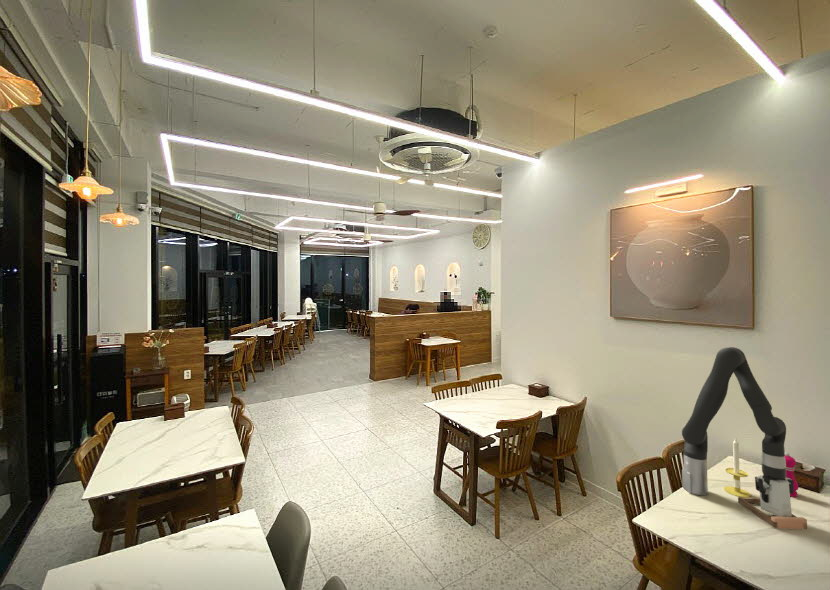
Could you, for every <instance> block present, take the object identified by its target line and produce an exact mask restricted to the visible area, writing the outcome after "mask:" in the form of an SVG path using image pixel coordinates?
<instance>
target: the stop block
mask: <svg viewBox="0 0 830 590" xmlns="http://www.w3.org/2000/svg"><path fill="white" fill-rule="evenodd" d="M770 517H771V520H772V521H773V522H774V523H776V522H777V525H778V528H776V527H775V526H776V525H775V526H774V527H775V528H774V527H773V528H774V529H789V530H790V529H791V530H807V529H808V519H807V518H805V517H803V516H802V517H799V516H798V517H797V516H796V517H778V516H776V515H774V516H773V515H772V516H770ZM805 523H807V524H806V525H805ZM806 526H807V527H806ZM804 528H805V529H804Z"/></svg>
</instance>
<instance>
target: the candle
mask: <svg viewBox="0 0 830 590" xmlns="http://www.w3.org/2000/svg"><path fill="white" fill-rule="evenodd" d="M739 444H740V443H739V442H738V440H737V437H735V438H734V440H733V442H732V450H733V451H732V454H733V455H732V456H733V457H732V458H733V461H732V462H733V468H732V467H727V468H725V472H726V473H727V474H729V475H732V476H733V477H732V478H733V486H730V485H727V486H724V488H723V490H724V492H726V493H727V494H730V495H732V496H734V495H735V496H734V497H737V498H738V497H751V496H752V495H751V493H750V492H749V491H747V490H745V489H743V488H741V478H746V477H749V473H747V472H746V471H744V470H742V469H740V445H739ZM751 498H752V497H751Z"/></svg>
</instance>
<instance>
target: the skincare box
mask: <svg viewBox="0 0 830 590" xmlns="http://www.w3.org/2000/svg"><path fill="white" fill-rule="evenodd" d="M757 477H758V478H762V477H763V474H761V475H758V476H757ZM763 482H764V481H763ZM771 484H772V490H771V491H769V493H768V499H769V503H766V502H764V501H763V500H762V498H761V492H759V498H760V503H761V505H760V509H761V511H762V510H763V511H765V512H767V513H770V514H771V515H772V516H773V515H774V516H777V517H791V516H792V514H793V512H792V501H791V497H790V491H789V482H788V481H785V480H770V485H771ZM763 485H765V486H767V487H769V486H770V485H768V484H767V483H766V482H764V483H763ZM765 490H766V488H765Z"/></svg>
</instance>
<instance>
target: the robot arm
mask: <svg viewBox="0 0 830 590" xmlns="http://www.w3.org/2000/svg"><path fill="white" fill-rule="evenodd" d="M732 375H734V376H735V377H736V380H737V381H738V384H739V386H740V390H741V393H742V394H743V397H744V399H745V401H746V403H747V404H748V406H749V408H750V409H751V411H752V413H753V417H754V420H755V422H756V424H757V426H758V428H759V429H760V431H761V432H762V433H763V434H764V438H763V439H762V441H761V472H762V475H763V477H762V478H758V476H754V482H755V490H756V491H758V492H759V493H760V492H761V498H762V500H763V501H764V502H766V503H769V499H768V493H769V491H771V490H772V484H771V485H770V480H785V481H788V482H789V491H790V493H791V494H793V489H794V481H793V480H792V479H790V478H788V477H786V460H785V452H786V451H785V441H786V435H787V426H786V425H787V424H786V423H785V422H784V421H783V419H781V418H779V417H777V416H774V415H773V412H772V410H773V407H772V405H771V402H770V401H769V400H768V398H767V396H766V395H765V393H764V392H763V390H762V388H761V386H760V385H759V384H758V383H759V382H758V381H757V380H756V377H755V376H754V375H753V372H752V370H751V367H750V364H749V363H748V360H747V357H746V355H745V353H744V351H743V350H742V349H740V348H738V347H733V346H730V347H724V348H721V349H720V350H719V351H717V353H716V355H715V358H714V363H713V366H712V368H711V370H710V373H709V375H708V376H707V379H706V380H705V382H704V384H703V386H702V388H701V390H700V392H699V393H698V396H697V399H696V401H695V404H694V408H693V410H692V413H691V415H690V417H689V419H688V420H687V422H686V424H685V426H684V427H683V428H682V429H681V436H682V439H683V440H684V445H683V446H684V447H683V468H682V469H681V479H682V480H681V481H682V482H681V483H682V488H683V489H684V490H685V491H686V492H688V493H689V494H693V495H697V496H707V495H708V494H709V487H708V486H709V485H708V480H709V479H708V451H709V450H708V449H709V448H708V441H709V440H708V438H709V437H708V432H707V430H708V429H709V425H710V423H711V422H712V420H713V419H714V418H715V416H716V415H717V413H718V412H719V411H720V409H721V407H722V405H723V403H724V401H725V399H726V397H727V394H728V389H729V383H730V379H731V377H733V376H732ZM763 481H764V482H766V483H767V484H768V485H770V486H769V487H767V486H765V485H763V483H764V482H763ZM765 488H766V490H765Z"/></svg>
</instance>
